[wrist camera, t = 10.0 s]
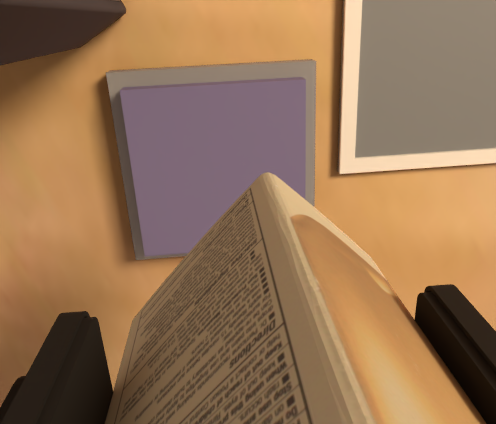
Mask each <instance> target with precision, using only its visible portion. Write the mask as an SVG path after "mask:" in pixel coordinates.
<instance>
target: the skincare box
mask: <svg viewBox="0 0 496 424" xmlns="http://www.w3.org/2000/svg"><path fill="white" fill-rule="evenodd" d="M105 424H486V422H485V421H484V419H483V418H482V416H481V415H480V413H479V412H478V411H477V409H476V408H475V406H474V405H473V403H472V402H471V400H470V399H469V397H468V396H467V395H466V393H465V392H464V390H463V389H462V387H461V386H460V384H459V383H458V382H457V380H456V379H455V377H454V376H453V374H452V373H451V372H450V370H449V369H448V367H447V366H446V365H445V363H444V362H443V360H442V359H441V357H440V356H439V355H438V353H437V352H436V350H435V349H434V347H433V346H432V345H431V343H430V342H429V340H428V339H427V337H426V336H425V334H424V333H423V331H422V330H421V329H420V327H419V326H418V324H417V323H416V321H415V320H414V319H413V317H412V316H411V314H410V313H409V312H408V310H407V309H406V307H405V306H404V304H403V303H402V302H401V300H400V299H399V297H398V296H397V294H396V293H395V291H394V290H393V288H392V287H391V286H390V284H389V283H388V281H387V280H386V278H385V277H384V275H383V274H382V272H381V271H380V270H379V268H378V267H377V265H376V264H375V262H374V261H373V260H372V258H371V257H370V256H369V255H368V254H367V253H366V252H365V251H363V250H362V249H361V248H360V247H359V246H358V245H357V244H356V243H355V242H354V241H353V240H351V239H350V238H349V237H348V236H347V235H346V234H345V233H344V232H342V231H341V230H340V229H339V228H338V227H337V226H335V225H334V224H333V223H332V222H331V221H330V220H329V219H328V218H326V217H325V216H324V215H323V214H322V213H321V212H319V211H318V210H317V209H316V208H315V207H314V206H312V205H311V204H310V203H309V202H308V201H306V200H305V199H304V198H303V197H301V196H300V195H299V194H298V193H297V192H295V191H294V190H293V189H292V188H291V187H289V186H288V185H287V184H286V183H285V182H283V181H282V180H281V179H280V178H278V177H277V176H276V175H274V174H272V173H268V172H267V173H263V174H261V175H260V176H259V177H258V178H257V179H256V180H255V181H254V182H253V183H252V184H251V185H250V186H249V188H248V189H247V190H246V191H245V192H244V193H243V194H242V195H241V196H240V197H239V198H238V199H237V200H236V201H235V202H234V203H233V204H232V205H231V207H230V208H229V209H228V210H227V211H226V212H225V213H224V214H223V215H222V216H221V217H220V218H219V220H218V221H217V222H216V223H215V224H214V225H213V226H212V227H211V228H210V229H209V231H208V232H207V233H206V234H205V235H204V236H203V237H202V238H201V239H200V241H199V242H198V243H197V244H196V245H195V246H194V248H193V249H192V250H191V251H190V252H189V253H188V254H187V256H186V257H185V258H184V259H183V260H182V261H181V262H180V263H179V265H178V266H177V267H176V268H175V269H174V270H173V272H172V273H171V274H170V275H169V276H168V278H167V279H166V280H165V281H164V282H163V283H162V285H161V286H160V287H159V288H158V289H157V291H156V292H155V293H154V294H153V295H152V297H151V298H150V299H149V300H148V302H147V303H146V304H145V305H144V307H143V308H142V309H141V310H140V311H139V313H138V314H137V315H136V316H135V318H134V319H133V321H132V324H131V328H130V331H129V335H128V339H127V343H126V346H125V350H124V354H123V357H122V361H121V364H120V368H119V372H118V376H117V380H116V383H115V387H114V391H113V396H112V399H111V403H110V406H109V410H108V414H107V417H106V421H105Z"/></svg>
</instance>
